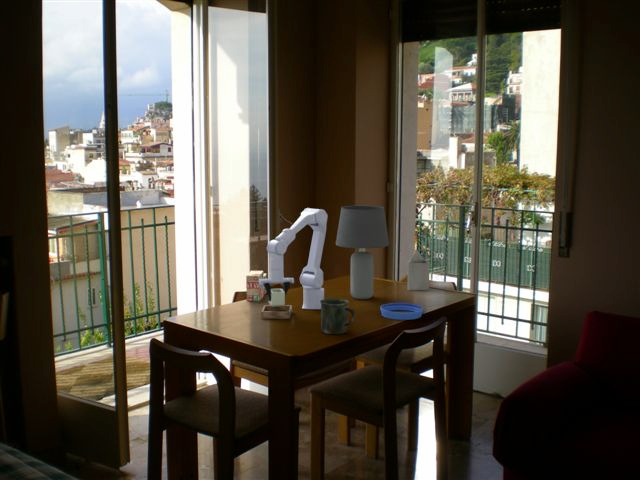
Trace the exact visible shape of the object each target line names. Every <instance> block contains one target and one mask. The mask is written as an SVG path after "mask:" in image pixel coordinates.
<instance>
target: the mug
mask: <svg viewBox="0 0 640 480" xmlns="http://www.w3.org/2000/svg"><path fill="white" fill-rule="evenodd" d="M320 303H321V309H320V330H321V332H322V333H324V334H329V335H341V334H343V335H344V334H346V333H347V332H348V327H349V326H351V325H353V323H354V322H355V318H356V313H355V310H354V309H353V308H351V307H348V305H349V303H350V302H349V300H347V299H344V298H338V297H337V298H336V297H329V298H327V297H326V298H324V299H322V300H321V301H320ZM349 312H350V313H351V317H350V322H348V318H349V317H348V315H349V314H348V313H349Z"/></svg>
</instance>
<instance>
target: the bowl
mask: <svg viewBox="0 0 640 480" xmlns="http://www.w3.org/2000/svg"><path fill="white" fill-rule="evenodd" d="M423 311H424V308H423V306H421V305H418V304H415V303H414V304H413V303H408V302H393V303H392V302H390V303H385V304H382V305H380V312H381V316H383V317H384V318H386V319H390V320H397V321H398V320H399V321H405V320H406V321H408V320H409V321H411V320H416V319H419V318H421V317H422V314H423Z"/></svg>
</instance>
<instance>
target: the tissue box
mask: <svg viewBox="0 0 640 480" xmlns="http://www.w3.org/2000/svg"><path fill="white" fill-rule="evenodd" d="M430 264H431V263H430V262H429V261H427V260H426V259H425V257H423V256H422V255H421V253H420V252H419V251H418V250H417V249H416V250H415V251H414V252H413V254H412V256H411V258H410V259H409V261H408V264H407V291H427V290H428V291H429V290H430V275H431V273H430V271H431V269H430V267H431V265H430Z"/></svg>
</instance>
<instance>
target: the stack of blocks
mask: <svg viewBox="0 0 640 480" xmlns="http://www.w3.org/2000/svg"><path fill="white" fill-rule="evenodd" d="M267 276H268V275H267V273H264V270H250V272H248V273H247V274H246V276H245V277H246V279H245V280H246V281H245V283H246V285H245V288H246V302H260V301H261V300H262V299H263V298H264V296H265V295H267V292H266V289H265V287H264V285H260V284H259V279H268V278H267Z"/></svg>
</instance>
